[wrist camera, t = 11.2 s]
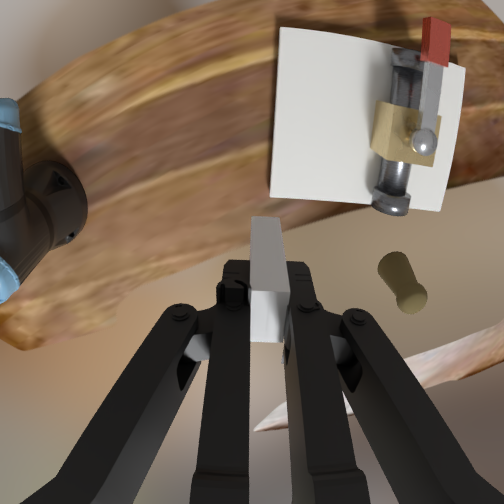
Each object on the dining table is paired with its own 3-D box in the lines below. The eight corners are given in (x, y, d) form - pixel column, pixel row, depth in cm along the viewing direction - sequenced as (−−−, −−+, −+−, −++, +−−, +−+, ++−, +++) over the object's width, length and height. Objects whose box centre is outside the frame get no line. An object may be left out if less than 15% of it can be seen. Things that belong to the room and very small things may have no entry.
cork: (395, 245, 52) (420, 282, 42) (413, 263, 54) (438, 301, 44) (371, 268, 54) (391, 309, 45) (390, 285, 56) (410, 325, 47)
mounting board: (269, 192, 48) (269, 197, 46) (279, 29, 35) (280, 26, 34) (434, 206, 48) (439, 211, 46) (458, 67, 36) (465, 68, 34)
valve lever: (428, 154, 34) (435, 158, 32) (406, 149, 34) (413, 153, 32) (443, 26, 26) (452, 25, 24) (421, 17, 26) (429, 16, 24)
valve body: (361, 198, 46) (378, 220, 39) (380, 47, 34) (403, 44, 28) (402, 202, 46) (423, 224, 39) (424, 59, 34) (452, 59, 28)
